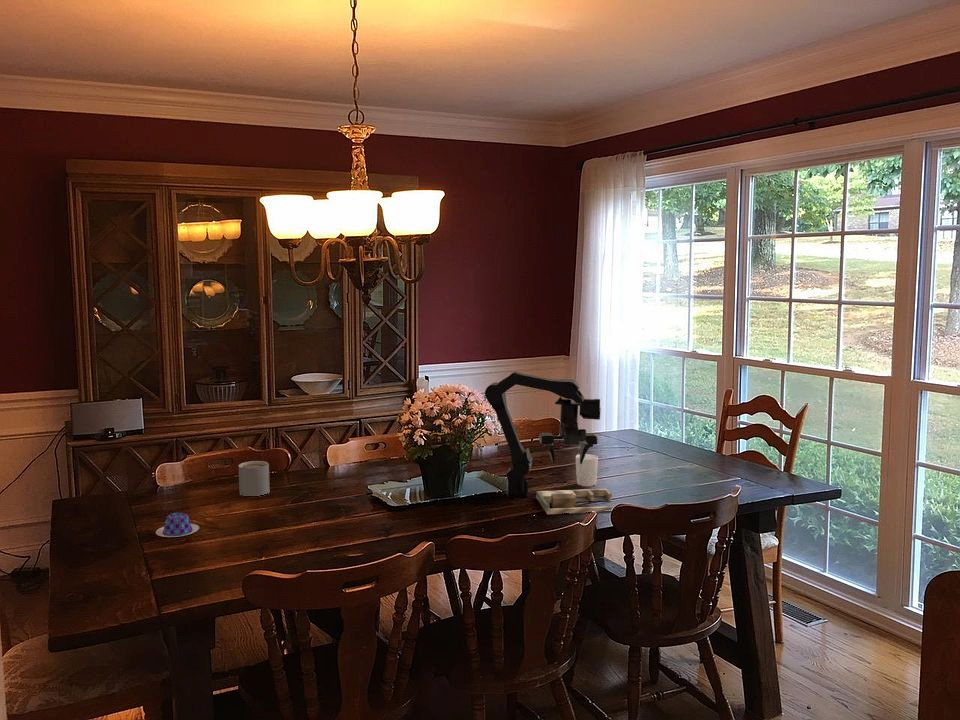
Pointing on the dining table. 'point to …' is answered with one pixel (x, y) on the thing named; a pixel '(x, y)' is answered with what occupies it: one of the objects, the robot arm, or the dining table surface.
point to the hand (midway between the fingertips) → (567, 463)
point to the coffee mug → (254, 478)
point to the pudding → (177, 526)
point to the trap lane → (580, 496)
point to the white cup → (587, 470)
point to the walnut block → (563, 501)
